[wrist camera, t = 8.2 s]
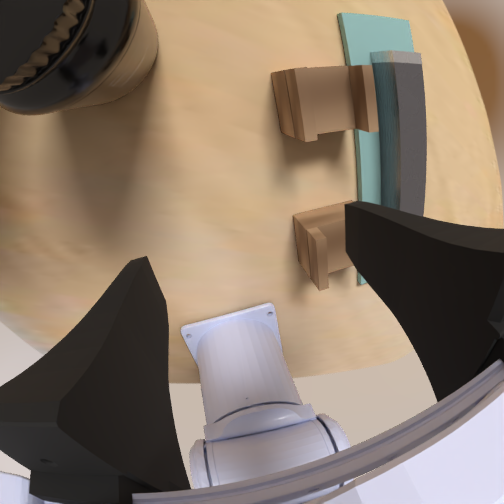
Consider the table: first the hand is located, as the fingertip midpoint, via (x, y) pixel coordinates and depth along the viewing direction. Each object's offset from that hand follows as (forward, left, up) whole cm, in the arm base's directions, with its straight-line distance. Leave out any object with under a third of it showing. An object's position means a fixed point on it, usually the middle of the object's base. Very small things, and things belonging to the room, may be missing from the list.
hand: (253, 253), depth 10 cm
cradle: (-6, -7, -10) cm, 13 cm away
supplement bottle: (+10, +5, -10) cm, 15 cm away
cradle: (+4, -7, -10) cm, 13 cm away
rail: (-1, -13, -9) cm, 16 cm away
